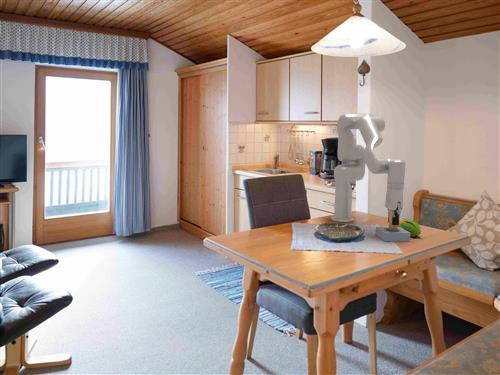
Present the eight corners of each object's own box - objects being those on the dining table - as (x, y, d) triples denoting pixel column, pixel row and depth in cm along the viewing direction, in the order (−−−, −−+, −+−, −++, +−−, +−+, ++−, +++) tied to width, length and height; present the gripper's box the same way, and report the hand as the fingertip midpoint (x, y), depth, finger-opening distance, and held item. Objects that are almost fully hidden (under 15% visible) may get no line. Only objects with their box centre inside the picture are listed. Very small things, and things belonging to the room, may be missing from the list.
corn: (412, 223, 201) (389, 214, 220) (410, 239, 202) (387, 229, 221) (426, 223, 202) (401, 215, 222) (424, 239, 204) (400, 229, 223)
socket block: (375, 234, 209) (375, 227, 208) (399, 234, 210) (399, 226, 209) (384, 241, 197) (385, 233, 197) (409, 241, 198) (410, 233, 197)
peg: (395, 229, 205) (396, 204, 203) (398, 231, 201) (400, 206, 199) (387, 229, 205) (388, 204, 203) (390, 231, 201) (391, 206, 199)
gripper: (381, 183, 208) (379, 220, 210) (394, 188, 191) (392, 228, 194) (395, 183, 208) (393, 220, 211) (411, 188, 192) (408, 228, 194)
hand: (393, 223), depth 202 cm, fingers closed on peg, 4 cm apart
